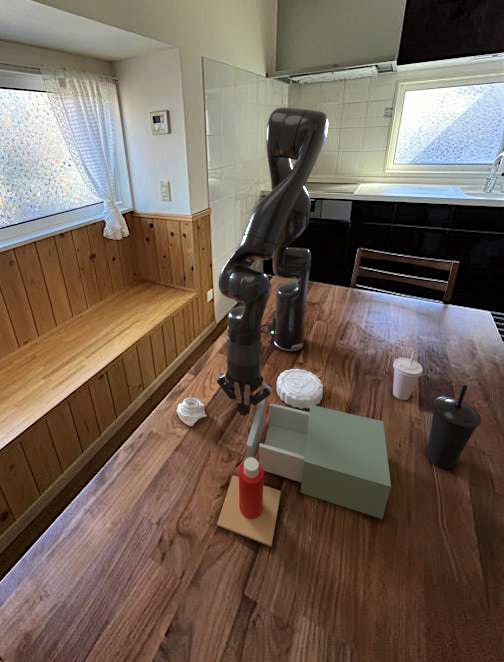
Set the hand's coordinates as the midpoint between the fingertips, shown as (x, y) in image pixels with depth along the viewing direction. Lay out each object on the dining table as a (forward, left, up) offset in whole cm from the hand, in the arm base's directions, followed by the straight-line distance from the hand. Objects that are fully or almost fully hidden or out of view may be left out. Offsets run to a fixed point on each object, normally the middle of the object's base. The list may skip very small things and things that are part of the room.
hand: (244, 412), depth 80 cm
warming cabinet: (+22, +5, -4) cm, 23 cm away
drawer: (+10, 0, -4) cm, 11 cm away
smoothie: (+24, +36, -5) cm, 43 cm away
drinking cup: (+36, +22, -5) cm, 42 cm away
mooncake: (+4, +19, -5) cm, 20 cm away
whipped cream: (-12, -6, -5) cm, 14 cm away
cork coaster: (+13, -14, -4) cm, 19 cm away
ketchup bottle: (+13, -14, -4) cm, 19 cm away
